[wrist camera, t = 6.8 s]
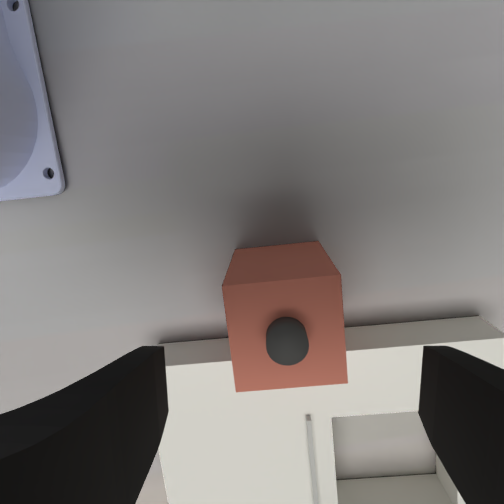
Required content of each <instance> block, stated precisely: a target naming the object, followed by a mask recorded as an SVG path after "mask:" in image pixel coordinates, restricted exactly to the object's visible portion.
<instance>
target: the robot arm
mask: <svg viewBox="0 0 504 504" xmlns="http://www.w3.org/2000/svg"><path fill="white" fill-rule="evenodd" d="M16 1H18V2H19V8H18V10H16V11H13V9H12V8H13V4H14V2H16ZM49 168H51V169H52V170H53V171H54V177H53V178H52V179H51V178H50V177H49V176H48V174H47V171H48V169H49ZM64 189H65V180H64V175H63V170H62V166H61V161H60V156H59V151H58V146H57V141H56V136H55V131H54V126H53V121H52V116H51V111H50V107H49V102H48V97H47V92H46V87H45V82H44V77H43V72H42V67H41V62H40V57H39V52H38V47H37V43H36V38H35V33H34V28H33V23H32V18H31V13H30V8H29V3H28V0H0V201H7V200H16V199H25V198H34V197H43V196H52V195H58V194H61V193H62V192H63V191H64ZM168 412H169V408H168V394H167V380H166V366H165V351H164V346H142V347H139V348H137V349H135V350H133V351H131V352H129V353H127V354H126V355H124V356H122V357H120V358H119V359H117V360H115V361H113V362H112V363H110V364H108V365H106V366H105V367H103V368H101V369H99V370H98V371H96V372H94V373H92V374H90V375H88V376H87V377H85V378H83V379H81V380H79V381H77V382H75V383H73V384H71V385H69V386H67V387H65V388H64V389H62V390H59V391H57V392H55V393H53V394H51V395H49V396H46V397H44V398H42V399H40V400H37V401H35V402H32V403H30V404H27V405H25V406H23V407H20V408H17V409H15V410H12V411H9V412H6V413H3V414H0V504H135V503H136V500H137V498H138V496H139V493H140V491H141V489H142V486H143V484H144V481H145V479H146V477H147V474H148V472H149V470H150V467H151V465H152V462H153V460H154V457H155V455H156V453H157V450H158V448H159V445H160V442H161V439H162V435H163V432H164V428H165V424H166V420H167V416H168ZM418 413H419V416H420V418H421V421H422V423H423V426H424V428H425V431H426V433H427V436H428V438H429V440H430V442H431V445H432V447H433V449H434V450H435V452H436V454H437V456H438V457H439V459H440V461H441V463H442V464H443V466H444V468H445V470H446V471H447V473H448V475H449V476H450V478H451V480H452V481H453V483H454V485H455V487H456V488H457V490H458V492H459V493H460V495H461V497H462V498H463V500H464V502H465V503H466V504H504V369H502V368H500V367H497V366H495V365H493V364H491V363H489V362H486V361H484V360H482V359H480V358H477V357H475V356H473V355H470V354H468V353H466V352H463V351H461V350H458V349H455V348H453V347H449V346H423V357H422V370H421V383H420V396H419V410H418Z"/></svg>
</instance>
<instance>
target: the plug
mask: <svg viewBox="0 0 504 504" xmlns="http://www.w3.org/2000/svg"><path fill="white" fill-rule="evenodd" d="M222 291H223V299H224V306H225V314H226V321H227V329H228V337H229V344H230V352H231V359H232V367H233V375H234V382H235V390H236V392H247V391H260V390H272V389H285V388H297V387H309V386H322V385H334V384H347V383H348V374H347V360H346V345H345V330H344V315H343V300H342V285H341V274H340V273H339V271H338V270H337V268H336V267H335V265H334V264H333V262H332V261H331V259H330V258H329V256H328V255H327V253H326V252H325V250H324V249H323V247H322V246H321V244H320V243H319V241H313V242H303V243H293V244H283V245H274V246H264V247H254V248H244V249H235V251H234V254H233V257H232V260H231V262H230V265H229V268H228V271H227V273H226V276H225V279H224V282H223V284H222Z"/></svg>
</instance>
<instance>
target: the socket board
mask: <svg viewBox="0 0 504 504" xmlns="http://www.w3.org/2000/svg"><path fill="white" fill-rule="evenodd" d="M344 330H345V345H346V360H347V374H348V383H347V384H334V385H322V386H309V387H297V388H285V389H272V390H260V391H247V392H236V390H235V382H234V375H233V367H232V359H231V352H230V344H229V338H221V339H210V340H198V341H187V342H175V343H164V344H158V345H157V346H164V351H165V366H166V380H167V394H168V408H169V412H168V416H167V420H166V424H165V428H164V432H163V435H162V439H161V442H160V445H159V448H158V450H159V456H160V461H161V467H162V472H163V478H164V483H165V489H166V495H167V500H168V504H466V503H465V502H464V500H463V498H462V497H461V495H460V493H459V492H458V490H457V488H456V487H455V485H454V483H453V481H452V480H451V478H450V476H449V475H448V473H447V471H446V470H445V468H444V466H443V464H442V463H441V461H440V459H439V457H438V456H437V454H436V474H424V475H409V476H394V477H379V478H363V479H348V480H336V471H335V458H334V445H333V432H332V419H331V417H344V416H358V415H371V414H384V413H398V412H411V411H418V410H419V396H420V383H421V370H422V357H423V346H449V347H453V348H455V349H458V350H461V351H463V352H466V353H468V354H470V355H473V356H475V357H477V358H480V359H482V360H484V361H486V362H489V363H491V364H493V365H495V366H497V367H500V368H502V369H504V333H503V332H501V331H500V330H498V329H497V328H496V327H494V326H493V325H492V324H490V323H489V322H487V321H486V320H485V319H483V318H482V317H480V316H473V317H462V318H450V319H439V320H428V321H416V322H405V323H393V324H382V325H370V326H359V327H347V328H344Z"/></svg>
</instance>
